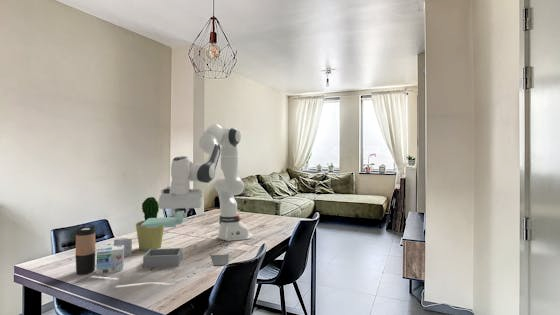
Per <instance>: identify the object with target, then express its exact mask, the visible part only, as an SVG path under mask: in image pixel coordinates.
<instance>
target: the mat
mask: <svg viewBox="0 0 560 315" xmlns="http://www.w3.org/2000/svg"><path fill="white" fill-rule="evenodd" d="M229 256H230V255H229V254H228V253H227V254H226V253H225V254H210V259H211V262H212V265H213V266H214V267H219V266H220V267H222V266H227V265H226V264H228V263H229V261H230V260H229V259H230V257H229ZM228 265H229V264H228Z"/></svg>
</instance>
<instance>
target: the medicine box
mask: <svg viewBox="0 0 560 315" xmlns="http://www.w3.org/2000/svg"><path fill="white" fill-rule="evenodd" d="M121 245H124V258H128V257H130V256H131V255H132V254H133V253H132V251H133V247H132V246H133V244H132V238H125V237H119V238H116V239H114V240H113V246H121Z"/></svg>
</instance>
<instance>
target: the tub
mask: <svg viewBox="0 0 560 315" xmlns="http://www.w3.org/2000/svg"><path fill="white" fill-rule="evenodd" d="M156 255H157V256H156ZM142 258H143V259H142V268H143V269H147V268H149V269H150V268H163V267H164V268H165V267H167V268H168V267H179V266H180V265H181V262H182V260H183V247H175V248H170V247H169V248H157V249H149V250H147V252H146V253H145V254H144V255H143V257H142Z"/></svg>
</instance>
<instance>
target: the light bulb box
mask: <svg viewBox="0 0 560 315" xmlns="http://www.w3.org/2000/svg"><path fill="white" fill-rule="evenodd" d="M124 263H125V257H124V245H121V246H114V245H112V246H103V247H98V249H97V251H96V264H95V268H96V271H95V272H96V274H95V275H99V274H105V273H106V274H107V273H114V272H122V271H124V270H123V269H124V266H125V264H124Z"/></svg>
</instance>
